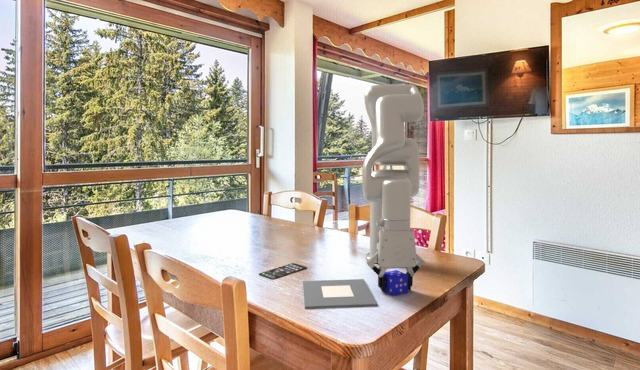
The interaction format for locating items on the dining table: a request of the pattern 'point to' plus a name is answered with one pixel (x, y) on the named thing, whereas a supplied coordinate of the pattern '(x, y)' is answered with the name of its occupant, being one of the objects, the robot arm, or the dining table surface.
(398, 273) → the die
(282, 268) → the smartphone
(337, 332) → the dining table surface
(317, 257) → the dining table surface
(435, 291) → the dining table surface
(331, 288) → the mat
